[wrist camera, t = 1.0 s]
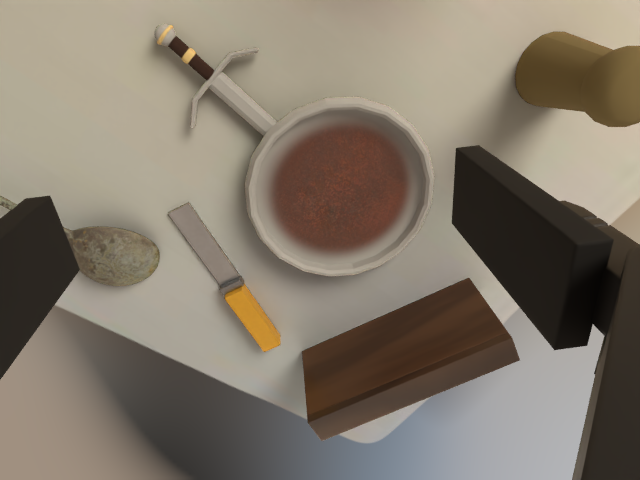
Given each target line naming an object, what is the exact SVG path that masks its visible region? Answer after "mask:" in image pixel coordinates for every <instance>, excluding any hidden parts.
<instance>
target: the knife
mask: <svg viewBox="0 0 640 480" xmlns="http://www.w3.org/2000/svg"><path fill="white" fill-rule="evenodd" d="M168 215H169V216H170V217H171V219H172V220H173V221H174V223H175V224H176V226H177V227H178V228H179V230H180V231H181V232H182V234H183V235H184V236H185V238H186V239H187V241H188V242H189V243H190V245H191V246H192V247H193V249H194V250H195V252H196V253H197V254H198V256H199V257H200V258H201V260H202V261H203V262H204V264H205V265H206V267H207V268H208V269H209V271H210V272H211V273H212V275H213V276H214V277H215V279H216V280H217V282H218V283H219V284H220V289H219V290H220V292H221V293H222V294H223V295H225V300H226V301H227V303H228V304H229V305H230V307H231V308H232V309H233V311H234V312H235V313H236V315H237V316H238V317H239V319H240V320H241V321H242V323H243V324H244V326H245V327H246V328H247V330H248V331H249V332H250V334H251V335H252V336H253V338H254V339H255V340H256V342H257V343H258V344H259V346H260V347H261V349H262V350H263V351H264V352H266V351H268V350H270V349H272V348H274V347H277V346H279V345H280V334H279V333H278V331H277V330H276V329H275V327H274V326H273V324H272V323H271V321H270V320H269V319H268V317H267V316H266V314H265V313H264V311H263V310H262V308H261V307H260V306H259V304H258V303H257V301H256V300H255V298H254V297H253V296H252V294H251V293H250V291H249V290H248V288H247V287H246V286H245V284H244V280H243V278H242V277H241V275H239V274H238V272H237V271H236V269H235V268H234V266H233V265H232V264H231V262H230V261H229V259H228V258H227V256H226V255H225V254H224V252H223V251H222V249H221V248H220V246H219V245H218V243H217V242H216V241H215V239H214V238H213V236H212V235H211V233H210V232H209V231H208V229H207V228H206V226H205V225H204V223H203V222H202V220H201V219H200V218H199V216H198V215H197V213H196V212H195V210H194V209H193V208H192V206H191V205H190V203H189V202H188V203H186V204H184V205H182V206H180V207H178V208H176V209H174V210H172V211H170V212H169V213H168Z"/></svg>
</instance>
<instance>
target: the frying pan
mask: <svg viewBox="0 0 640 480" xmlns="http://www.w3.org/2000/svg"><path fill="white" fill-rule="evenodd" d="M155 38H156V40H157V43H158V44H161V45H163V46H168V47H170V48H171V49H172V50H173V51H174V52H175V53H176V54H177V55H179V56H180V57H181V59H182V60H183V62H185V63H186V64H189V65H190V66H191V67H192V68H193V69H194V70H195V71H197V72H198V73H199V74H200V75H201V76H202V77H203V78H205V79H206V82H205V83H204V84H203V85H202V87H201V88H200V89H199V90H198V92H197V93H196V94H195V95H194V96H193V98H192V109H191V123H190V125H191V128H194V127H195V126H196V118H197V106H198V100H199V98H200V97H201V96H202V95H203V94H204V92H205V91H206V90H207V89H208V88H209V89H211V90H212V91H213V92H214V93H215V94H216V95H217V96H218V97H220V98H221V99H222V100H223V101H224V102H225V103H226V104H228V105H229V106H230V107H231V108H232V109H233V110H234V111H236V112H237V113H238V114H239V115H240V116H241V117H242V118H243V119H245V120H246V121H247V122H248V123H249V124H250V125H251V126H253V127H254V128H255V129H256V130H257V131H258V132H259V133H261V134H262V135H263V136H264V137H263V139H262V140H261V142H260V143H259V145H258V147H257V148H256V150H255V151H254V153H253V154H252V156H251V160H250V164H249V168H248V173H247V177H246V181H245V194H246V204H247V213H248V216H249V218H250V220H251V222H252V224H253V226H254V228H255V230H256V233H257V235H258V237H259V238H260V239H261V241H262V242H263V243H264V244H265V245H266V246H267V247H268V248H269V249H270V250H271V251H272V252H273V253H274V254H275V255H276V256H277V257H278V258H280V259H281V260H283V261H285V262H287V263H289V264H291V265H292V266H294V267H296V268H298V269H300V270H302V271H305V272H310V273H315V274H320V275H324V276H343V275H355V274H358V273H361V272H364V271H367V270H370V269H373V268H376V267H379V266H381V265H382V264H384V263H385V262H387V261H388V260H390V259H391V258H393V257H394V256H396V255H397V254H399V253H400V252H402V251H403V250H404V248H405V247H406V246H407V245H408V244H409V243H410V241H411V240H412V239H413V238H414V237H415V236H416V234H417V233H418V232H419V231H420V229H421V227H422V225H423V222H424V220H425V218H426V216H427V213H428V211H429V209H430V206H431V204H432V197H433V187H434V178H435V175H434V171H433V166H432V162H431V158H430V153H429V149H428V147H427V146H426V144H425V143H424V141H423V139H422V138H421V136H420V135H419V133H418V132H417V130H416V129H415V127H414V126H413V124H412V123H410V122H409V121H408V120H406V119H405V118H404V117H402V116H401V115H400V114H398V113H397V112H396V111H394V110H393V109H392V108H390V107H389V106H387V105H384V104H380V103H377V102H374V101H371V100H367V99H364V98H361V97H330V98H323V99H320V100H317V101H315V102H312V103H309V104H307V105H304V106H301V107H299V108H296V109H293V110H292V111H291V112H290V113H288V114H287V115H286V116H285V117H283V118H282V119H281V120H280V121H279V122H277V121H276V120H275V119H274V118H273V117H271V116H270V115H269V114H268V113H267V112H266V111H265V110H264V109H263V108H262V107H260V106H259V105H258V104H257V103H256V102H255V101H254V100H253V99H252V98H251V97H249V96H248V95H247V94H246V93H245V92H244V91H243V90H242V89H241V88H240V87H238V86H237V85H236V84H235V83H234V82H233V81H232V80H231V79H230V78H229V77H227V76H226V75H225V74H224V73H223V72H222V70H223V69H224V68H225V67H226V65H227V64H228V63H229V62H230V60H231V59H232V58H233V57H238V56H243V55H248V54H253V53H258V51H259V48H256V47H255V48H250V49H245V50H240V51H235V52H230V53H228V54H227V56H226V57H225V58H224V59H223V61H222V62H221V63H220V64H219V66H218V67H217V68H216V69H215V71H214V70H213V69H212V68H211V67H210V66H209V65H208V64H207V63H206V62H204V61H203V60H202V59H201V58H200V57H199V56H198V55H197V54H196V52H195V51H194V50H193V49H192V48H189V47H188V46H187V45H186V44H185V43H183V42H182V41H181V40H180V39H179V38H178V37H177V36H176V33H175V31H174V29H173V26H172V25H167V24H160V25H158V26H157V27H156V29H155Z"/></svg>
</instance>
